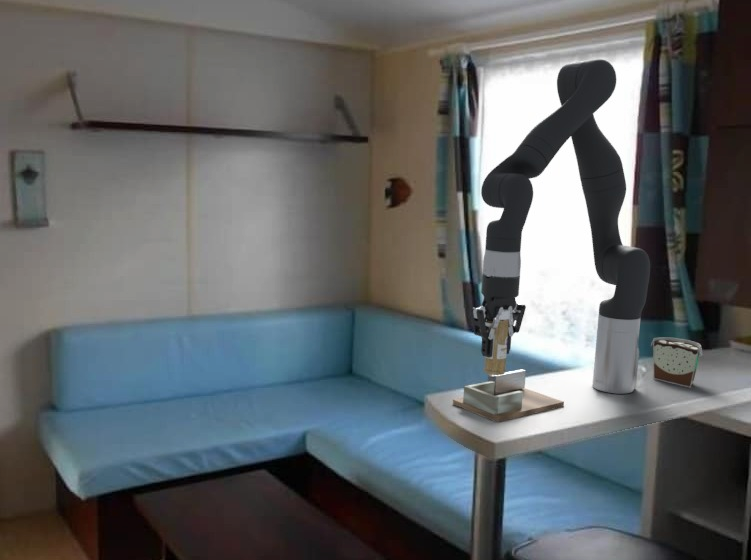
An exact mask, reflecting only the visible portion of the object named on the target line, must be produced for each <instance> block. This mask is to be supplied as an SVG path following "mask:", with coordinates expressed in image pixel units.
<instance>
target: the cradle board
mask: <svg viewBox="0 0 751 560" xmlns="http://www.w3.org/2000/svg"><path fill="white" fill-rule="evenodd" d="M494 387H495V382H493V381H489V382H487V381H483V382H480V383H479V382H478V383H475V384H474V383H473V384H469V385H465V386H463V397H460V398H453V399H452V405H455V406H456V407H460V408H461V407H462V409H464V408H465V409H464V410H466V409H467V411H469V412H471V411H472V412H471V413H474V414H477V415H479V416H481V417H484V418H487V419H488V420H489V419H490V420H491V421H493V422H496V423H498V422H499V423H500V422H504V421H508V420H513V419H515V418H516V419H517V418H520V417H524V416H529V415H532V414H537V413H541V412H546V411H549V410H554V409H558V408H563V407H564V406H565V401H563V400H560V399H557V398H554V397H553V396H552V397H551V396H548V395H545V394H542V393H540V392H537V391H534V390H530V389H529V388H526V387H525V388H522V389H517V390H512V391H507V392H502V393H498V394H495V395H494Z"/></svg>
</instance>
